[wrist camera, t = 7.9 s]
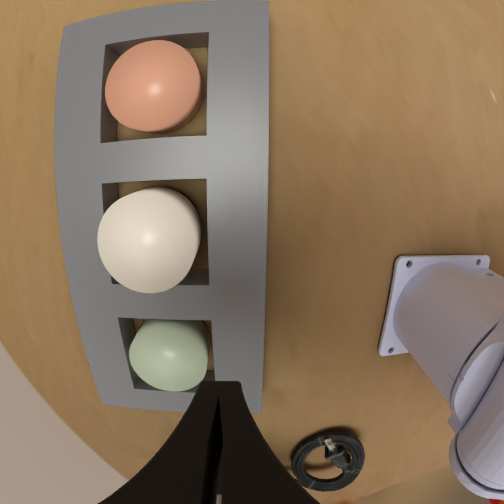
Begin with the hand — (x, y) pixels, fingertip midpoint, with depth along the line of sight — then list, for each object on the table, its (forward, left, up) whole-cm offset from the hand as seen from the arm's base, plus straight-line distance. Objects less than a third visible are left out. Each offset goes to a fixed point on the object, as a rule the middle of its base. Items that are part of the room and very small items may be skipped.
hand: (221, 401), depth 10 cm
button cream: (+4, -4, -9) cm, 10 cm away
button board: (+4, -4, -10) cm, 12 cm away
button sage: (+4, +4, -10) cm, 12 cm away
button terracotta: (+4, -12, -10) cm, 16 cm away
